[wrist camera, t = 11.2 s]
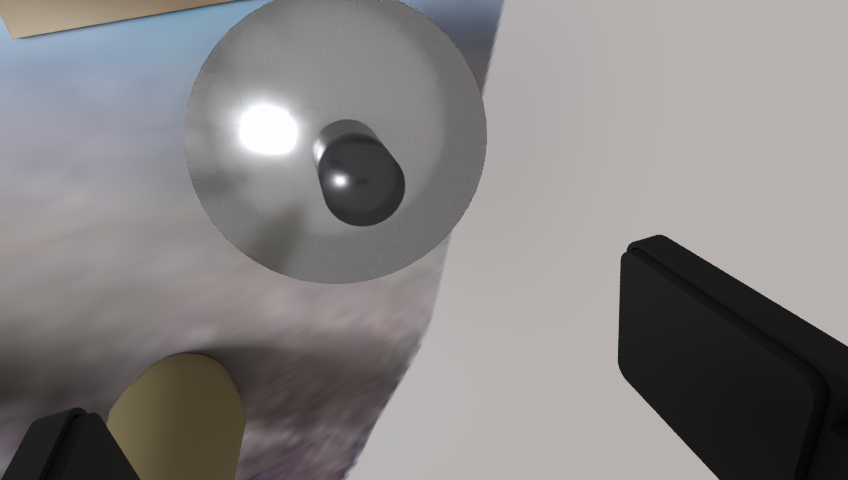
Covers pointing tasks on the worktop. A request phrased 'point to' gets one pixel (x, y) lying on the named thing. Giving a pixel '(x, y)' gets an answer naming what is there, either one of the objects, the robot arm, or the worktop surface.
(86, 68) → the worktop surface
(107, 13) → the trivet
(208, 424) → the squeeze bottle
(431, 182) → the lid
